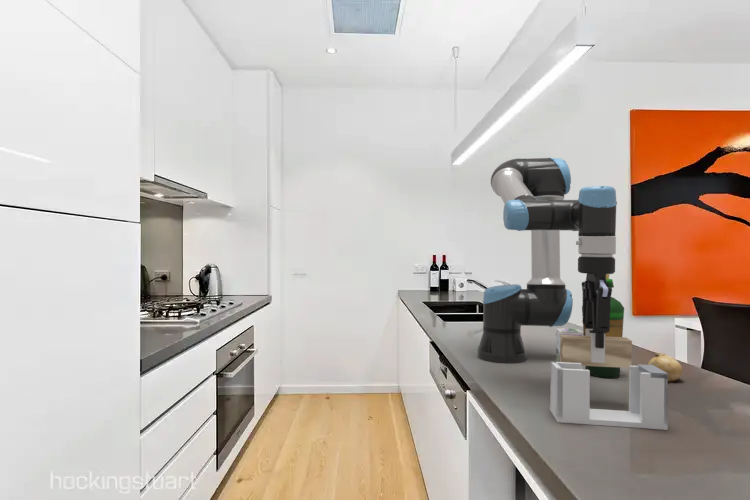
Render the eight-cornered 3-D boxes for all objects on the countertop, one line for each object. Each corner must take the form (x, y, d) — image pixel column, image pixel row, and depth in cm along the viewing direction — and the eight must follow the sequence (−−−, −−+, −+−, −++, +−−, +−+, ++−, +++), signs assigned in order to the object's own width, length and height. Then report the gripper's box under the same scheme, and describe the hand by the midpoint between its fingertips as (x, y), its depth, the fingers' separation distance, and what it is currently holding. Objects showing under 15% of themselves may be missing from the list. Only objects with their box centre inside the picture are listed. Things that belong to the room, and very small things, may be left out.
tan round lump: (679, 377, 123) (679, 351, 123) (685, 385, 116) (685, 357, 116) (645, 374, 126) (645, 349, 126) (649, 381, 119) (649, 354, 119)
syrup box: (585, 391, 109) (585, 332, 110) (559, 390, 111) (559, 331, 111) (579, 385, 115) (579, 328, 115) (554, 383, 116) (555, 327, 116)
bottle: (583, 377, 122) (584, 274, 122) (579, 368, 132) (580, 273, 132) (628, 381, 119) (628, 275, 119) (620, 371, 129) (620, 273, 129)
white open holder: (550, 410, 96) (550, 360, 96) (652, 417, 92) (652, 364, 92) (557, 422, 89) (557, 367, 89) (667, 429, 86) (667, 373, 86)
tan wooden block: (560, 360, 104) (560, 334, 104) (625, 363, 102) (625, 337, 102) (563, 364, 101) (564, 338, 101) (631, 368, 98) (631, 340, 98)
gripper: (569, 254, 109) (567, 350, 110) (589, 256, 93) (587, 369, 94) (602, 254, 108) (600, 351, 109) (628, 257, 92) (626, 371, 92)
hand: (594, 359), depth 101 cm, fingers closed on tan wooden block, 3 cm apart
